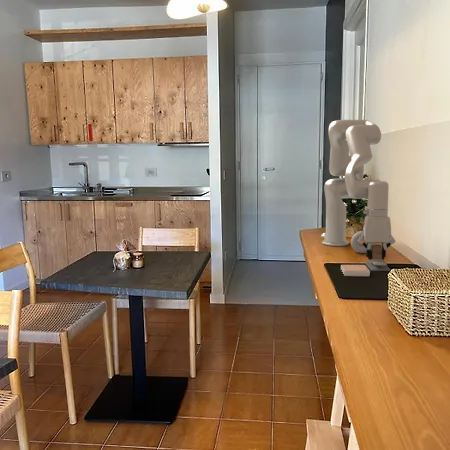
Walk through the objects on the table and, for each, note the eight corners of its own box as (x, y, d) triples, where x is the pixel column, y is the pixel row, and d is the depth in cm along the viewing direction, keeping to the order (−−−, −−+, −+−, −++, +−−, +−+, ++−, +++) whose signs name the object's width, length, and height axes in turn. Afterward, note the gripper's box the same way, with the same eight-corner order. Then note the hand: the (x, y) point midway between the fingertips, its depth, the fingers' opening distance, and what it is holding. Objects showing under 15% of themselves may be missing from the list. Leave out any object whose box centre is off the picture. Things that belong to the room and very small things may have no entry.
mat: (364, 263, 182) (364, 261, 182) (382, 263, 181) (382, 261, 181) (371, 270, 170) (371, 269, 170) (390, 271, 169) (390, 269, 169)
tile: (340, 264, 173) (344, 270, 164) (365, 264, 172) (369, 270, 163) (340, 270, 173) (344, 276, 164) (364, 270, 172) (369, 276, 163)
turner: (369, 259, 180) (369, 244, 179) (380, 259, 180) (380, 244, 179) (374, 265, 170) (375, 249, 169) (386, 265, 170) (387, 249, 169)
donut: (350, 253, 198) (351, 231, 197) (350, 252, 202) (350, 230, 200) (374, 254, 197) (375, 231, 195) (373, 252, 200) (374, 230, 198)
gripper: (356, 214, 172) (355, 261, 175) (402, 214, 170) (400, 261, 173) (353, 212, 180) (352, 256, 182) (397, 211, 178) (395, 257, 181)
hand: (375, 258), depth 178 cm, fingers closed on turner, 4 cm apart
